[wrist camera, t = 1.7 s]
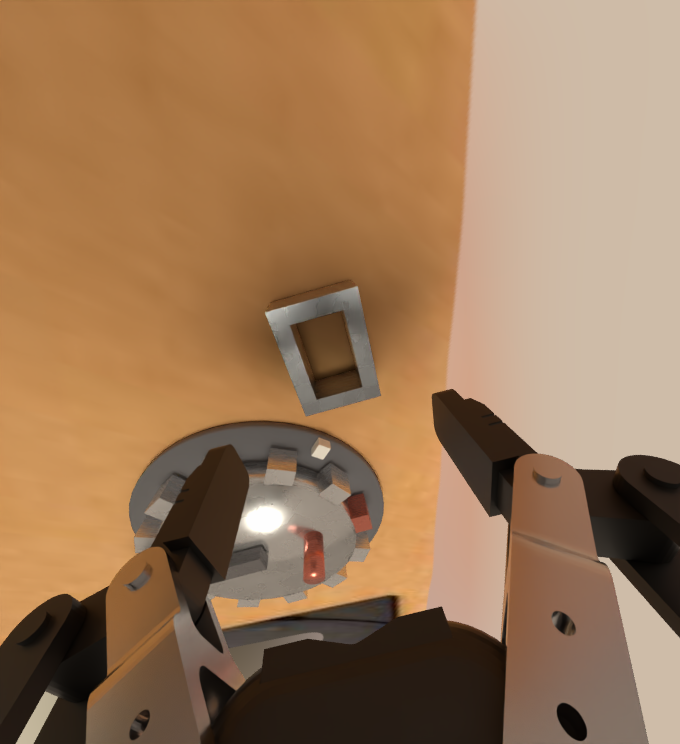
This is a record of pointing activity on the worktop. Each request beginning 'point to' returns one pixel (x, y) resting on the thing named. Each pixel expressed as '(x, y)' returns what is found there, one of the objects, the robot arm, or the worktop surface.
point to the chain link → (286, 334)
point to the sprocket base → (255, 447)
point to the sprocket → (282, 530)
